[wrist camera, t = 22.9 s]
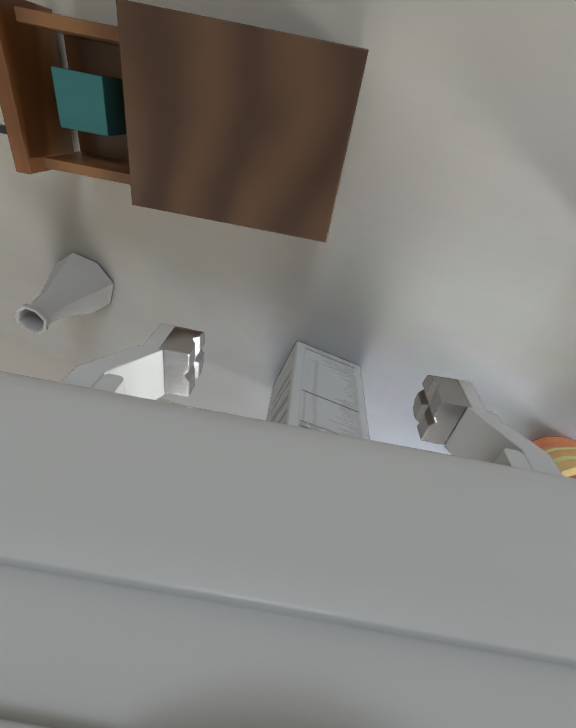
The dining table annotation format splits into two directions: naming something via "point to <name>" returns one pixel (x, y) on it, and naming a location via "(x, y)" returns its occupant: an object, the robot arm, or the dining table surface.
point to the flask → (67, 294)
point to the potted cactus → (560, 453)
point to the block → (89, 102)
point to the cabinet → (235, 119)
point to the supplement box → (319, 394)
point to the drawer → (37, 94)
